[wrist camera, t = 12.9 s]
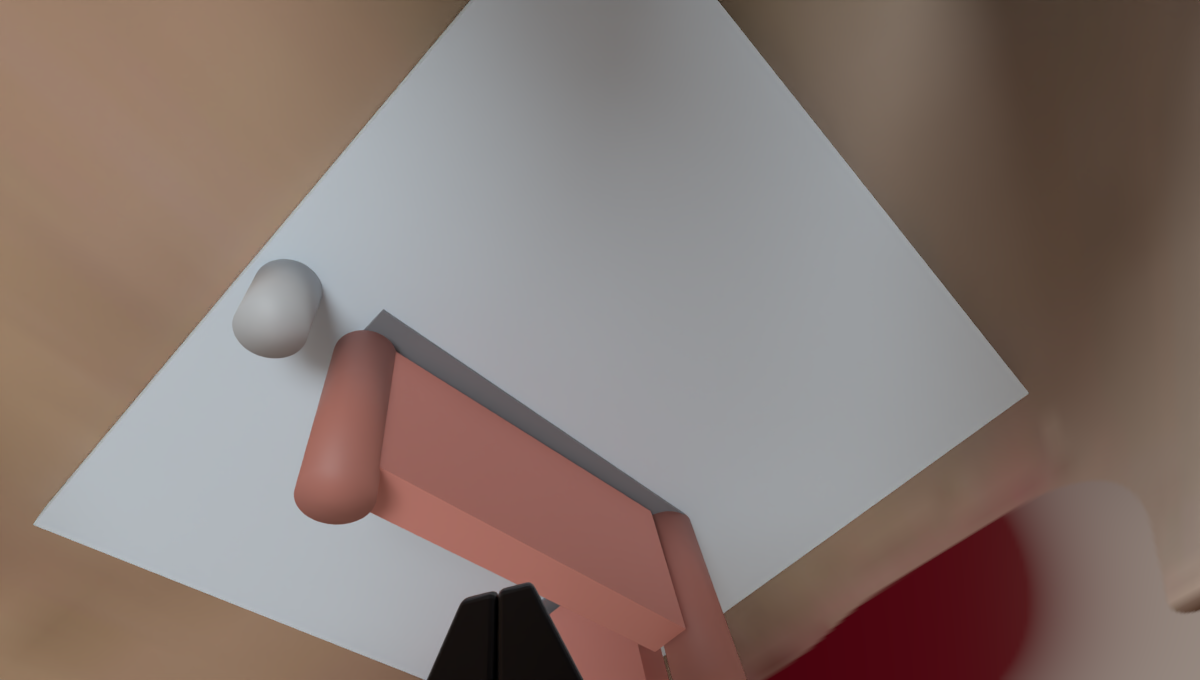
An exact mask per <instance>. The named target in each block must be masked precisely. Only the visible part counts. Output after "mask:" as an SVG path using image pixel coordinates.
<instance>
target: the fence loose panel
mask: <svg viewBox="0 0 1200 680" xmlns="http://www.w3.org/2000/svg"><path fill="white" fill-rule="evenodd" d="M294 500H295V503H296V505H297V507H298V508H299V509H300V511H301V512H302V513H304V514H305V515H306V516H308V517H309V518H311V519H313V520H315V521H318V522H321V523H326V524H333V525H340V524H348V523H352V522H355V521H358V520H360V519H362V518H364V517H365V516H367V515H368V514H369V513H372V514H374V515H377V516H379V517H381V518H383V519H385V520H387V521H389V522H391V523H393V524H395V525H397V526H399V527H401V528H403V529H405V530H407V531H409V532H411V533H413V534H415V535H417V536H419V537H421V538H423V539H426V540H428V541H430V542H432V543H434V544H436V545H438V546H440V547H442V548H444V549H446V550H448V551H450V552H452V553H454V554H456V555H458V556H460V557H462V558H464V559H466V560H468V561H470V562H472V563H474V564H477V565H479V566H481V567H483V568H485V569H487V570H489V571H491V572H493V573H495V574H497V575H499V576H501V577H503V578H505V579H507V580H509V581H511V582H513V583H515V584H517V585H518V584H522V583H526V582H530V583H532V584H533V585H534V586H535V588H536V590H537V592H538V594H539V595H540V596H542V597H544V598H546V599H548V600H550V601H552V602H554V603H556V604H558V605H560V606H562V607H564V608H566V609H568V610H570V611H572V612H575V613H577V614H579V615H581V616H583V617H585V618H587V619H589V620H591V621H593V622H595V623H597V624H599V625H601V626H603V627H605V628H607V629H609V630H611V631H613V632H615V633H617V634H619V635H621V636H623V637H626V638H628V639H630V640H632V641H634V642H636V643H638V644H640V645H642V646H644V647H646V648H648V649H650V650H652V651H654V652H656V651H657V650H659V649H660V648H661V647H663V646H664V645H665V644H667V643H668V642H669V641H671V640H672V639H673V638H675V637H676V636H677V635H679V634H680V633H681V632H683V631H684V630H685V629H686V627H685V624H684V621H683V617H682V614H681V611H680V607H679V604H678V601H677V597H676V594H675V590H674V587H673V584H672V580H671V577H670V574H669V570H668V567H667V564H666V560H665V557H664V554H663V550H662V547H661V543H660V540H659V537H658V533H657V530H656V527H655V523H654V520H653V517H652V513H651V511H650V510H648V509H647V508H645V507H643V506H642V505H640V504H639V503H637V502H635V501H634V500H632V499H631V498H629V497H627V496H626V495H624V494H623V493H621V492H619V491H618V490H616V489H615V488H613V487H611V486H610V485H608V484H607V483H605V482H603V481H602V480H600V479H599V478H597V477H595V476H594V475H592V474H591V473H589V472H587V471H586V470H584V469H583V468H581V467H579V466H578V465H576V464H575V463H573V462H571V461H570V460H568V459H567V458H565V457H563V456H562V455H560V454H559V453H557V452H555V451H554V450H552V449H551V448H549V447H547V446H546V445H544V444H543V443H541V442H540V441H538V440H536V439H535V438H533V437H532V436H530V435H528V434H527V433H525V432H524V431H522V430H520V429H519V428H517V427H516V426H514V425H512V424H511V423H509V422H508V421H506V420H504V419H503V418H501V417H500V416H498V415H496V414H495V413H493V412H492V411H490V410H488V409H487V408H485V407H484V406H482V405H480V404H479V403H477V402H476V401H474V400H472V399H471V398H469V397H468V396H466V395H464V394H463V393H461V392H460V391H458V390H456V389H455V388H453V387H452V386H450V385H448V384H447V383H445V382H444V381H442V380H440V379H439V378H437V377H436V376H434V375H433V374H431V373H429V372H428V371H426V370H425V369H423V368H421V367H420V366H418V365H417V364H415V363H413V362H412V361H410V360H409V359H407V358H405V357H404V356H402V355H401V354H399V353H397V352H396V350H395V348H394V346H393V344H392V343H391V342H390V341H389V340H388V339H387V338H386V337H384V336H383V335H381V334H379V333H377V332H373V331H368V330H358V331H353V332H350V333H348V334H346V335H344V336H343V337H341V338H340V339H339V340H338V342H337V343H336V345H335V347H334V350H333V354H332V358H331V361H330V365H329V368H328V372H327V375H326V379H325V382H324V386H323V390H322V393H321V397H320V400H319V404H318V407H317V411H316V415H315V418H314V422H313V425H312V429H311V432H310V436H309V439H308V443H307V447H306V450H305V454H304V457H303V461H302V464H301V468H300V471H299V475H298V479H297V482H296V486H295V489H294Z"/></svg>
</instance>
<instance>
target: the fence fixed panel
mask: <svg viewBox="0 0 1200 680" xmlns="http://www.w3.org/2000/svg"><path fill="white" fill-rule="evenodd" d="M684 514H685V513H684ZM684 514H682V513H679V512H674V511H665V512H660V513H657V514H654V515H652V517H653V520H654V523H655V527H656V530H657V533H658V537H659V540H660V543H661V547H662V550H663V554H664V557H665V560H666V564H667V567H668V570H669V574H670V577H671V580H672V584H673V587H674V590H675V594H676V597H677V601H678V604H679V607H680V611H681V614H682V617H683V621H684V624H685V627H686V629H685V630H684V631H683V632H681V633H680V634H679V635H677V636H676V637H675V638H673V639H672V640H671V641H669V642H668V643H667V644H665V645H664V649H665V653H666V657H667V660H668V664H669V668H670V672H671V676H672V679H673V680H747V679H746V676H745V673H744V670H743V668H742V665H741V662H740V659H739V656H738V653H737V651H736V648H735V645H734V642H733V639H732V637H731V634H730V631H729V628H728V625H727V623H726V620H725V617H724V614H723V611H722V608H721V606H720V603H719V600H718V597H717V594H716V592H715V589H714V586H713V583H712V580H711V578H710V575H709V572H708V569H707V566H706V563H705V561H704V558H703V555H702V552H701V549H700V547H699V544H698V541H697V538H696V535H695V532H694V530H693V527H692V524H691V521H690V519H689V517H688V516H687V515H686V514H685V515H684ZM549 615H550V617H551V618H552V620H553V622H554V624H555V626H556V628H557V630H558V632H559V634H560V636H561V638H562V639H563V641H564V643H565V645H566V647H567V649H568V651H569V653H570V655H571V657H572V659H573V660H574V662H575V664H576V666H577V668H578V670H579V672H580V674H581V676H582V678H583V680H669V678H668V674H667V670H666V667H665V663H664V659H663V655H662V651H661V648H660V649H659V650H657V651H656V652H654V651H652V650H650V649H648V648H646V647H644V646H642V645H640V644H638V643H636V642H634V641H632V640H630V639H628V638H626V637H623V636H621V635H619V634H617V633H615V632H613V631H611V630H609V629H607V628H605V627H603V626H601V625H599V624H597V623H595V622H593V621H591V620H589V619H587V618H585V617H583V616H581V615H579V614H577V613H575V612H572V611H570V610H568V609H566V608H564V607H562V606H559V607H558V608H557V609H556V610H554V611H553V612H552V613H551V614H549Z"/></svg>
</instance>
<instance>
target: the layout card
mask: <svg viewBox="0 0 1200 680" xmlns="http://www.w3.org/2000/svg"><path fill="white" fill-rule="evenodd" d="M358 330H368V331H373V332H377V333H379V334H381V335H383V336H384V337H386V338H387V339H388V340H389V341H390V342H391V343H392V344H393V346H394V348H395V350H396V352H397V353H399V354H401V355H402V356H404V357H405V358H407V359H409V360H410V361H412V362H413V363H415V364H417V365H418V366H420V367H421V368H423V369H425V370H426V371H428V372H429V373H431V374H433V375H434V376H436V377H437V378H439V379H440V380H442V381H444V382H445V383H447V384H448V385H450V386H452V387H453V388H455V389H456V390H458V391H460V392H461V393H463V394H464V395H466V396H468V397H469V398H471V399H472V400H474V401H476V402H477V403H479V404H480V405H482V406H484V407H485V408H487V409H488V410H490V411H492V412H493V413H495V414H496V415H498V416H500V417H501V418H503V419H504V420H506V421H508V422H509V423H511V424H512V425H514V426H516V427H517V428H519V429H520V430H522V431H524V432H525V433H527V434H528V435H530V436H532V437H533V438H535V439H536V440H538V441H540V442H541V443H543V444H544V445H546V446H547V447H549V448H551V449H552V450H554V451H555V452H557V453H559V454H560V455H562V456H563V457H565V458H567V459H568V460H570V461H571V462H573V463H575V464H576V465H578V466H579V467H581V468H583V469H584V470H586V471H587V472H589V473H591V474H592V475H594V476H595V477H597V478H599V479H600V480H602V481H603V482H605V483H607V484H608V485H610V486H611V487H613V488H615V489H616V490H618V491H619V492H621V493H623V494H624V495H626V496H627V497H629V498H631V499H632V500H634V501H635V502H637V503H639V504H640V505H642V506H643V507H645V508H647V509H648V510H650V511H651V513H652V515H654V514H657V513H660V512H665V511H674V512H679V513H682V514H684V513H685V514H686V515H687V516H688V517H689V519H690V521H691V524H692V527H693V530H694V532H695V535H696V538H697V541H698V544H699V547H700V549H701V552H702V555H703V558H704V561H705V563H706V566H707V569H708V572H709V575H710V578H711V580H712V583H713V586H714V589H715V592H716V594H717V597H718V600H719V603H720V606H721V608H722V611H723V613H725V612H726V611H727V610H729V609H730V608H732V607H733V606H734V605H736V604H737V603H738V602H740V601H741V600H743V599H744V598H745V597H747V596H748V595H750V594H751V593H752V592H754V591H755V590H757V589H758V588H759V587H761V586H762V585H763V584H765V583H766V582H768V581H769V580H770V579H772V578H773V577H775V576H776V575H777V574H779V573H780V572H782V571H783V570H784V569H786V568H787V567H788V566H790V565H791V564H793V563H794V562H795V561H797V560H798V559H800V558H801V557H802V556H804V555H805V554H807V553H808V552H809V551H811V550H812V549H813V548H815V547H816V546H818V545H819V544H820V543H822V542H823V541H825V540H826V539H827V538H829V537H830V536H832V535H833V534H834V533H836V532H837V531H838V530H840V529H841V528H843V527H844V526H845V525H847V524H848V523H850V522H851V521H852V520H854V519H855V518H857V517H858V516H859V515H861V514H862V513H863V512H865V511H866V510H868V509H869V508H870V507H872V506H873V505H875V504H876V503H877V502H879V501H880V500H882V499H883V498H884V497H886V496H887V495H888V494H890V493H891V492H893V491H894V490H895V489H897V488H898V487H900V486H901V485H902V484H904V483H905V482H907V481H908V480H909V479H911V478H912V477H913V476H915V475H916V474H918V473H919V472H920V471H922V470H923V469H925V468H926V467H927V466H929V465H930V464H932V463H933V462H934V461H936V460H937V459H938V458H940V457H941V456H943V455H944V454H945V453H947V452H948V451H950V450H951V449H952V448H954V447H955V446H957V445H958V444H959V443H961V442H962V441H964V440H965V439H966V438H968V437H969V436H970V435H972V434H973V433H975V432H976V431H977V430H979V429H980V428H982V427H983V426H984V425H986V424H987V423H989V422H990V421H991V420H993V419H994V418H995V417H997V416H998V415H1000V414H1001V413H1002V412H1004V411H1005V410H1007V409H1008V408H1009V407H1011V406H1012V405H1014V404H1015V403H1016V402H1018V401H1019V400H1020V399H1022V398H1023V397H1025V396H1026V395H1027V394H1029V393H1028V391H1027V390H1026V389H1025V387H1024V386H1023V385H1022V384H1021V382H1020V381H1019V380H1018V379H1017V377H1016V376H1015V375H1014V374H1013V372H1012V371H1011V370H1010V369H1009V367H1008V366H1007V365H1006V363H1005V362H1004V361H1003V360H1002V358H1001V357H1000V356H999V355H998V353H997V352H996V351H995V350H994V348H993V347H992V346H991V345H990V343H989V342H988V341H987V340H986V338H985V337H984V336H983V334H982V333H981V332H980V331H979V329H978V328H977V327H976V326H975V324H974V323H973V322H972V321H971V319H970V318H969V317H968V316H967V314H966V313H965V312H964V310H963V309H962V308H961V307H960V305H959V304H958V303H957V302H956V300H955V299H954V298H953V297H952V295H951V294H950V293H949V292H948V290H947V289H946V288H945V287H944V285H943V284H942V283H941V281H940V280H939V279H938V278H937V276H936V275H935V274H934V273H933V271H932V270H931V269H930V268H929V266H928V265H927V264H926V263H925V261H924V260H923V259H922V257H921V256H920V255H919V254H918V252H917V251H916V250H915V249H914V247H913V246H912V245H911V244H910V242H909V241H908V240H907V239H906V237H905V236H904V235H903V234H902V232H901V231H900V230H899V228H898V227H897V226H896V225H895V223H894V222H893V221H892V220H891V218H890V217H889V216H888V215H887V213H886V212H885V211H884V210H883V208H882V207H881V206H880V204H879V203H878V202H877V201H876V199H875V198H874V197H873V196H872V194H871V193H870V192H869V191H868V189H867V188H866V187H865V186H864V184H863V183H862V182H861V181H860V179H859V178H858V177H857V175H856V174H855V173H854V172H853V170H852V169H851V168H850V167H849V165H848V164H847V163H846V162H845V160H844V159H843V158H842V157H841V155H840V154H839V153H838V152H837V150H836V149H835V148H834V146H833V145H832V144H831V143H830V141H829V140H828V139H827V138H826V136H825V135H824V134H823V133H822V131H821V130H820V129H819V128H818V126H817V125H816V124H815V122H814V121H813V120H812V119H811V117H810V116H809V115H808V114H807V112H806V111H805V110H804V109H803V107H802V106H801V105H800V104H799V102H798V101H797V100H796V99H795V97H794V96H793V95H792V93H791V92H790V91H789V90H788V88H787V87H786V86H785V85H784V83H783V82H782V81H781V80H780V78H779V77H778V76H777V75H776V73H775V72H774V71H773V69H772V68H771V67H770V66H769V64H768V63H767V62H766V61H765V59H764V58H763V57H762V56H761V54H760V53H759V52H758V51H757V49H756V48H755V47H754V46H753V44H752V43H751V42H750V40H749V39H748V38H747V37H746V35H745V34H744V33H743V32H742V30H741V29H740V28H739V27H738V25H737V24H736V23H735V22H734V20H733V19H732V18H731V16H730V15H729V14H728V13H727V11H726V10H725V9H724V8H723V6H722V5H721V4H720V3H719V1H718V0H470V1H469V2H468V4H467V5H466V6H465V7H464V8H463V10H462V11H461V12H460V13H459V14H458V15H457V17H456V18H455V19H454V20H453V21H452V23H451V24H450V25H449V26H448V27H447V29H446V30H445V31H444V32H443V33H442V35H441V36H440V37H439V38H438V39H437V41H436V42H435V43H434V44H433V45H432V46H431V48H430V49H429V50H428V51H427V52H426V54H425V55H424V56H423V57H422V58H421V60H420V61H419V62H418V63H417V64H416V66H415V67H414V68H413V69H412V70H411V72H410V73H409V74H408V75H407V76H406V77H405V79H404V80H403V81H402V82H401V83H400V85H399V86H398V87H397V88H396V89H395V91H394V92H393V93H392V94H391V95H390V97H389V98H388V99H387V100H386V101H385V103H384V104H383V105H382V106H381V107H380V108H379V110H378V111H377V112H376V113H375V114H374V116H373V117H372V118H371V119H370V120H369V122H368V123H367V124H366V125H365V126H364V128H363V129H362V130H361V131H360V132H359V134H358V135H357V136H356V137H355V138H354V139H353V141H352V142H351V143H350V144H349V145H348V147H347V148H346V149H345V150H344V151H343V153H342V154H341V155H340V156H339V157H338V159H337V160H336V161H335V162H334V163H333V165H332V166H331V167H330V168H329V169H328V170H327V172H326V173H325V174H324V175H323V176H322V178H321V179H320V180H319V181H318V182H317V184H316V185H315V186H314V187H313V188H312V190H311V191H310V192H309V193H308V194H307V195H306V197H305V198H304V199H303V200H302V201H301V203H300V204H299V205H298V206H297V207H296V209H295V210H294V211H293V212H292V213H291V215H290V216H289V217H288V218H287V219H286V221H285V222H284V223H283V224H282V225H281V226H280V228H279V229H278V230H277V231H276V232H275V234H274V235H273V236H272V237H271V238H270V240H269V241H268V242H267V243H266V244H265V246H264V247H263V248H262V249H261V250H260V252H259V253H258V254H257V255H256V256H255V257H254V259H253V260H252V261H251V262H250V263H249V265H248V266H247V267H246V268H245V269H244V271H243V272H242V273H241V274H240V275H239V277H238V278H237V279H236V280H235V281H234V283H233V284H232V285H231V286H230V287H229V288H228V290H227V291H226V292H225V293H224V294H223V296H222V297H221V298H220V299H219V300H218V302H217V303H216V304H215V305H214V306H213V308H212V309H211V310H210V311H209V312H208V314H207V315H206V316H205V317H204V318H203V319H202V321H201V322H200V323H199V324H198V325H197V327H196V328H195V329H194V330H193V331H192V333H191V334H190V335H189V336H188V337H187V339H186V340H185V341H184V342H183V343H182V345H181V346H180V347H179V348H178V349H177V350H176V352H175V353H174V354H173V355H172V356H171V358H170V359H169V360H168V361H167V362H166V364H165V365H164V366H163V367H162V368H161V370H160V371H159V372H158V373H157V374H156V375H155V377H154V378H153V379H152V380H151V381H150V383H149V384H148V385H147V386H146V387H145V389H144V390H143V391H142V392H141V393H140V395H139V396H138V397H137V398H136V399H135V401H134V402H133V403H132V404H131V405H130V406H129V408H128V409H127V410H126V411H125V412H124V414H123V415H122V416H121V417H120V418H119V420H118V421H117V422H116V423H115V424H114V426H113V427H112V428H111V429H110V430H109V432H108V433H107V434H106V435H105V436H104V437H103V439H102V440H101V441H100V442H99V443H98V445H97V446H96V447H95V448H94V449H93V451H92V452H91V453H90V454H89V455H88V457H87V458H86V459H85V460H84V461H83V463H82V464H81V465H80V466H79V467H78V468H77V470H76V471H75V472H74V473H73V474H72V476H71V477H70V478H69V479H68V480H67V482H66V483H65V484H64V485H63V486H62V488H61V489H60V490H59V491H58V492H57V494H56V495H55V496H54V497H53V498H52V499H51V501H50V502H49V503H48V504H47V505H46V507H45V508H44V509H43V510H42V512H41V513H40V515H39V516H38V518H37V519H36V521H35V522H34V524H33V525H35V526H37V527H40V528H43V529H45V530H48V531H50V532H53V533H55V534H58V535H60V536H63V537H65V538H68V539H70V540H73V541H75V542H78V543H80V544H83V545H85V546H88V547H91V548H93V549H96V550H98V551H101V552H103V553H106V554H108V555H111V556H113V557H116V558H118V559H121V560H123V561H126V562H128V563H131V564H134V565H136V566H139V567H141V568H144V569H146V570H149V571H151V572H154V573H156V574H159V575H161V576H164V577H166V578H169V579H171V580H174V581H177V582H179V583H182V584H184V585H187V586H189V587H192V588H194V589H197V590H199V591H202V592H204V593H207V594H209V595H212V596H214V597H217V598H219V599H222V600H225V601H227V602H230V603H232V604H235V605H237V606H240V607H242V608H245V609H247V610H250V611H252V612H255V613H257V614H260V615H262V616H265V617H268V618H270V619H273V620H275V621H278V622H280V623H283V624H285V625H288V626H290V627H293V628H295V629H298V630H300V631H303V632H305V633H308V634H311V635H313V636H316V637H318V638H321V639H323V640H326V641H328V642H331V643H333V644H336V645H338V646H341V647H343V648H346V649H348V650H351V651H353V652H356V653H359V654H361V655H364V656H366V657H369V658H371V659H374V660H376V661H379V662H381V663H384V664H386V665H389V666H391V667H394V668H396V669H399V670H402V671H404V672H407V673H409V674H412V675H414V676H417V677H419V678H422V679H424V680H427V678H428V676H429V673H430V671H431V669H432V667H433V664H434V662H435V660H436V657H437V655H438V653H439V651H440V648H441V646H442V644H443V641H444V639H445V637H446V635H447V632H448V630H449V628H450V625H451V623H452V621H453V619H454V616H455V614H456V612H457V609H458V607H459V605H460V603H461V602H462V601H463V600H464V599H465V598H467V597H470V596H474V595H478V594H482V593H486V592H490V591H495V592H497V593H498V594H499V592H500V590H501V589H503V588H506V587H510V586H514V585H517V584H515V583H513V582H511V581H509V580H507V579H505V578H503V577H501V576H499V575H497V574H495V573H493V572H491V571H489V570H487V569H485V568H483V567H481V566H479V565H477V564H474V563H472V562H470V561H468V560H466V559H464V558H462V557H460V556H458V555H456V554H454V553H452V552H450V551H448V550H446V549H444V548H442V547H440V546H438V545H436V544H434V543H432V542H430V541H428V540H426V539H423V538H421V537H419V536H417V535H415V534H413V533H411V532H409V531H407V530H405V529H403V528H401V527H399V526H397V525H395V524H393V523H391V522H389V521H387V520H385V519H383V518H381V517H379V516H377V515H374V514H372V513H369V514H368V515H367V516H365V517H364V518H362V519H360V520H358V521H355V522H352V523H348V524H340V525H333V524H326V523H321V522H318V521H315V520H313V519H311V518H309V517H308V516H306V515H305V514H304V513H302V512H301V511H300V509H299V508H298V507H297V505H296V503H295V500H294V489H295V486H296V482H297V479H298V475H299V471H300V468H301V464H302V461H303V457H304V454H305V450H306V447H307V443H308V439H309V436H310V432H311V429H312V425H313V422H314V418H315V415H316V411H317V407H318V404H319V400H320V397H321V393H322V390H323V386H324V382H325V379H326V375H327V372H328V368H329V365H330V361H331V358H332V354H333V350H334V347H335V345H336V343H337V342H338V340H339V339H340V338H341V337H343V336H344V335H346V334H348V333H350V332H353V331H358ZM685 514H684V515H685ZM539 596H540V595H539ZM540 597H541V599H542V601H543V603H544V605H545V607H546V609H547V611H548V613H549V614H551V613H552V612H553V611H554V610H556V609H557V608H558V607H559V606H560V605H558V604H556V603H554V602H552V601H550V600H548V599H546V598H544V597H542V596H540ZM661 651H662V655H663V656H665V655H666V653H665V649H664V646H663V647H661Z"/></svg>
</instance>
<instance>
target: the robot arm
mask: <svg viewBox="0 0 1200 680" xmlns="http://www.w3.org/2000/svg"><path fill="white" fill-rule="evenodd" d="M427 680H583V678H582V676H581V674H580V672H579V670H578V668H577V666H576V664H575V662H574V660H573V659H572V657H571V655H570V653H569V651H568V649H567V647H566V645H565V643H564V641H563V639H562V638H561V636H560V634H559V632H558V630H557V628H556V626H555V624H554V622H553V620H552V618H551V617H550V615H549V613H548V611H547V609H546V607H545V605H544V603H543V601H542V599H541V597H540V596H539V594H538V592H537V590H536V588H535V586H534V585H533V584H532V583H530V582H526V583H522V584H518V585H514V586H510V587H506V588H503V589H501V590H500V592H499V594H498V593H497V592H495V591H490V592H486V593H482V594H478V595H474V596H470V597H467V598H465V599H464V600H463V601H462V602H461V603H460V605H459V607H458V609H457V612H456V614H455V616H454V619H453V621H452V623H451V625H450V628H449V630H448V632H447V635H446V637H445V639H444V641H443V644H442V646H441V648H440V651H439V653H438V655H437V657H436V660H435V662H434V664H433V667H432V669H431V671H430V673H429V676H428V678H427Z"/></svg>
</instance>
